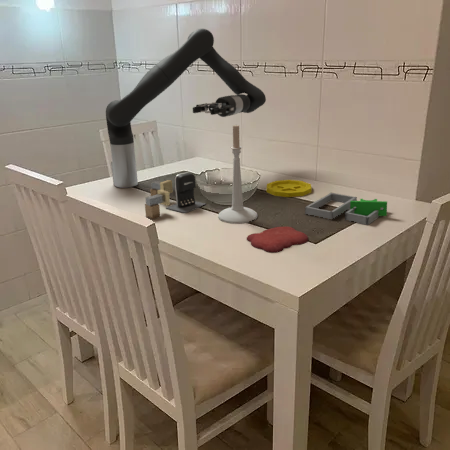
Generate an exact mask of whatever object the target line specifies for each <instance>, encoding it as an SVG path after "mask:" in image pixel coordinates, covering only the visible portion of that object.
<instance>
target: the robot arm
mask: <svg viewBox="0 0 450 450" xmlns="http://www.w3.org/2000/svg"><path fill="white" fill-rule="evenodd" d="M214 42H215V37H214V35H213V34H212V32H211V31H210V30H209V29H206V28H197V29H196V30H193V31H192V32H191V33H190V34H189V35H188V37H187V38H186V41H185V42H184V43H183V44H182V45H181V46H180V47H179V48H177V50H175V51H174V52H173V51H172V53H170V54H168V55H167V56H165V57H164V58H163V59H161V60H159V62H157V63H156V64H155V65H153V66H152V68H150V69H149V70H148V71H147V72H146V73H145V74H144V75H143V76H142V78H141V79H140V80H139V82H138V83H137V84H136V85H135V87H134V88H133V89H132V90H131V91H130V92H129V93H127V95H125V96H124V97H123V98H122V99H120V100H119V99H118V100H112V101H110V102H109V103H108V104H107V106H106V107H105V119H106V126H107V127H106V128H107V135H108V139H109V145H110V147H109V148H110V153H111V161H110V166H111V167H110V168H111V173H112V175H111V176H112V184H113V185H114V186H115V187H117V188H121V189H122V188H132V187H135V186H138V184H139V182H138V181H139V180H138V170H137V161H136V159H137V158H136V150H135V142H134V141H135V140H134V133H133V131H132V124H131V122H132V121H133V119H135V117H136V116H137V115H138V114H139V113H140V112H141V111H142V109H144V107H146V106H147V105H148V104H149V103H151V102H152V101H154V100H155V99H156V98H157V97H158V96H160V95H161V94H162V93H163V92H165V90H167V89H168V88H169V87H170V86H171V85H173V84H174V82H175V81H177V79H179V78H180V77H181V76H182V74H183V73H184V72H185V71H186V70H187V69H188V68H189V67H190V66H191V65H192V64H194V63H195V62H196V61H198V60H199V59H200V60H201V61H203V62H204V63H205V64H206V65H207V66H208V67H209V68H210V69H211V70H213V72H214V73H215V74H216V75H217V76H218V77H219V78H220V79H221V80H222V81H223V83H224V84H225V85H226V86H227V87H228V88H229V89H230V90H231V91H232V92H233V94H234V95H233V94H231V95H224V96H220V97H218V98H216V100H215V101H214V102H211V103H207V102H205V103H200V104H196V105H195V106H193V107H192V113H193V114H198V113H205V114H210V115H212V116H213V115H214V116H215V115H218V116H219V117H222V118H226V117H230V116H235V115H237V114H241V113H244V114H251V113H252V112H254V111H256V110H258V108H260V107H262V106H264V105H265V103H266V100H267V99H266V94H265V93H264V92H263V90H262V89H260V88H259V87H257V86H256V85H254V84H253V83H251V82H250V81H248V80H247V79H246V78H245V77H244V76H243V75H242V74H241V72H240V71H239V70H238V69H237V68H236V67H234V65H232V64H231V63H229V61H227V60H225V58H223V57H222V56H221V55H220V54H219V53H218V52H217V51H216V49H215V48H214Z"/></svg>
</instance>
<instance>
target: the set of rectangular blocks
mask: <svg viewBox="0 0 450 450" xmlns="http://www.w3.org/2000/svg"><path fill="white" fill-rule="evenodd" d="M150 186H151V188H150V189H149V191H150V196H147V197H145V204H144V210H145V217H146V218H149V219H151V220H155V219H159V218H161V210H160V209H161V208H160V205H163V206H166V207H168V206H171V200H170V199H171V198H170V194H171V193H173V180H170V179H167V180H164V181H158V180H155V181H152V182H151V183H150Z"/></svg>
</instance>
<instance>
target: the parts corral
mask: <svg viewBox="0 0 450 450" xmlns="http://www.w3.org/2000/svg"><path fill="white" fill-rule="evenodd" d="M332 201H333V202H334V201H335V202H339V203H342V204H341V205H339V206H338V207H336V208H334V209H333V210H326V209H320V208H322V207H323V206H324V205H326V204H328V203H330V202H332ZM350 201H358V197H356V196H352V195H346V194H341V193H335V192H329V193H328V194H326V195H324V196H323V197H320V198H319V199H316V200H315V201H314V202H312V203H310V204H308V205H306V206H305V207H304V215H306V214H308V215H307V216H310V215H314V216H313V217H315V216H319V217H318V218H320V217H323V218H322V219H325V218H328V219H327V220H329V219H333V218H334V219H336V218H337V217H339V216H340V215H342V214H343V213H344V221H346V220H349V221H348V222H351V221H354V222H353V223H355V222H357V223H356V224H361V225H366V226H369V225H370V224H371V223H372V222H373V223H374V221H375V220H377V219H378V218H379V217H380V216H378V211H379V210H375V211H374V212H372V213H371V214H369V215H359V214H354V210H355V209H357V207H354V208H352V209H350ZM319 207H320V208H319ZM380 209H381V210H383V209H384V208H382V207H381V208H380ZM346 210H347V211H346ZM344 211H345V212H344ZM341 213H342V214H341ZM338 215H339V216H338ZM336 216H337V217H336ZM335 217H336V218H335ZM334 219H333V220H334Z"/></svg>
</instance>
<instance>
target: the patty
mask: <svg viewBox="0 0 450 450" xmlns="http://www.w3.org/2000/svg"><path fill="white" fill-rule="evenodd" d="M246 241H247V242H249V243H250V246H251V247H253V248H255V249H257V250H262V251H264V252H265V253H266V252H267V253H271V254H277V253H281V252H282V251H284V249H290V248H291V247H292V246H298V245H299V246H301V245H303V244H306V243H308V242H309V236H308V235H307V234H306V233H305V232H303V231H299V230H296V229H295V228H294V227H292V226H275V227H272V228H267V229H265V230H263V231H261V232H257V233H256V232H255V233H251V234H249V235H247V237H246Z"/></svg>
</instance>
